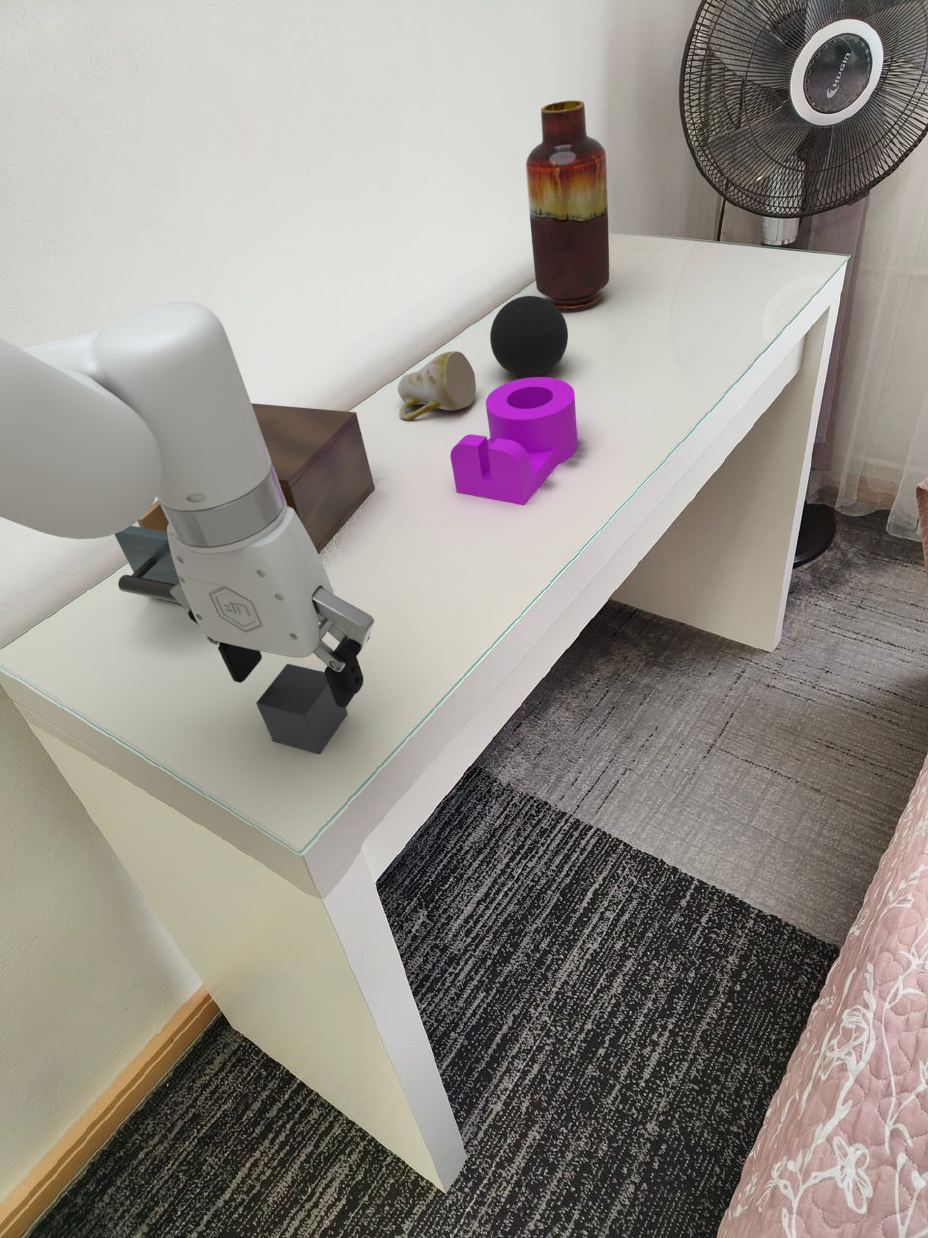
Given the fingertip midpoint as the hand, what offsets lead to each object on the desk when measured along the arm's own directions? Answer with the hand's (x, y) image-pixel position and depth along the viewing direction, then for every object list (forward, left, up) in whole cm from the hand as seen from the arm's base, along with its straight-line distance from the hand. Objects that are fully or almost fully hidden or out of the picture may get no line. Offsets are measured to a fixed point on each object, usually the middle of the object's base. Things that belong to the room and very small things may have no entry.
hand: (298, 681), depth 67 cm
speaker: (+51, +38, -5) cm, 63 cm away
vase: (+70, +53, -5) cm, 88 cm away
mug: (+37, +40, -5) cm, 54 cm away
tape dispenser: (+37, +21, -5) cm, 42 cm away
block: (0, 0, -5) cm, 5 cm away
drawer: (+1, +24, -4) cm, 24 cm away
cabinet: (+12, +31, -5) cm, 33 cm away
